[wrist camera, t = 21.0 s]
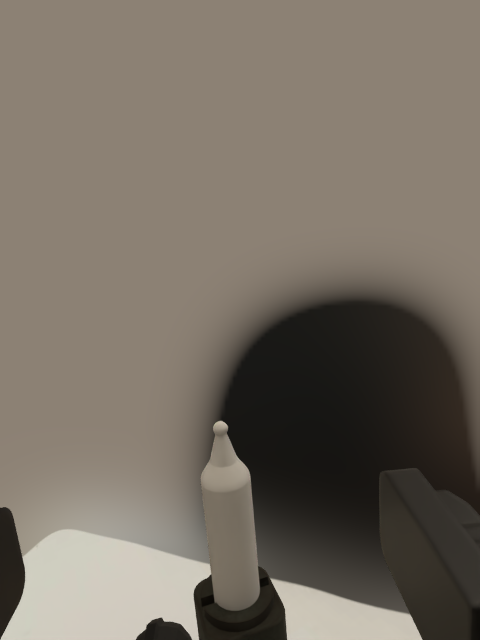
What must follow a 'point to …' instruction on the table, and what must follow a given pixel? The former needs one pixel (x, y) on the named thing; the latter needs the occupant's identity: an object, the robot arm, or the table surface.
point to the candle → (233, 556)
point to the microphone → (164, 631)
